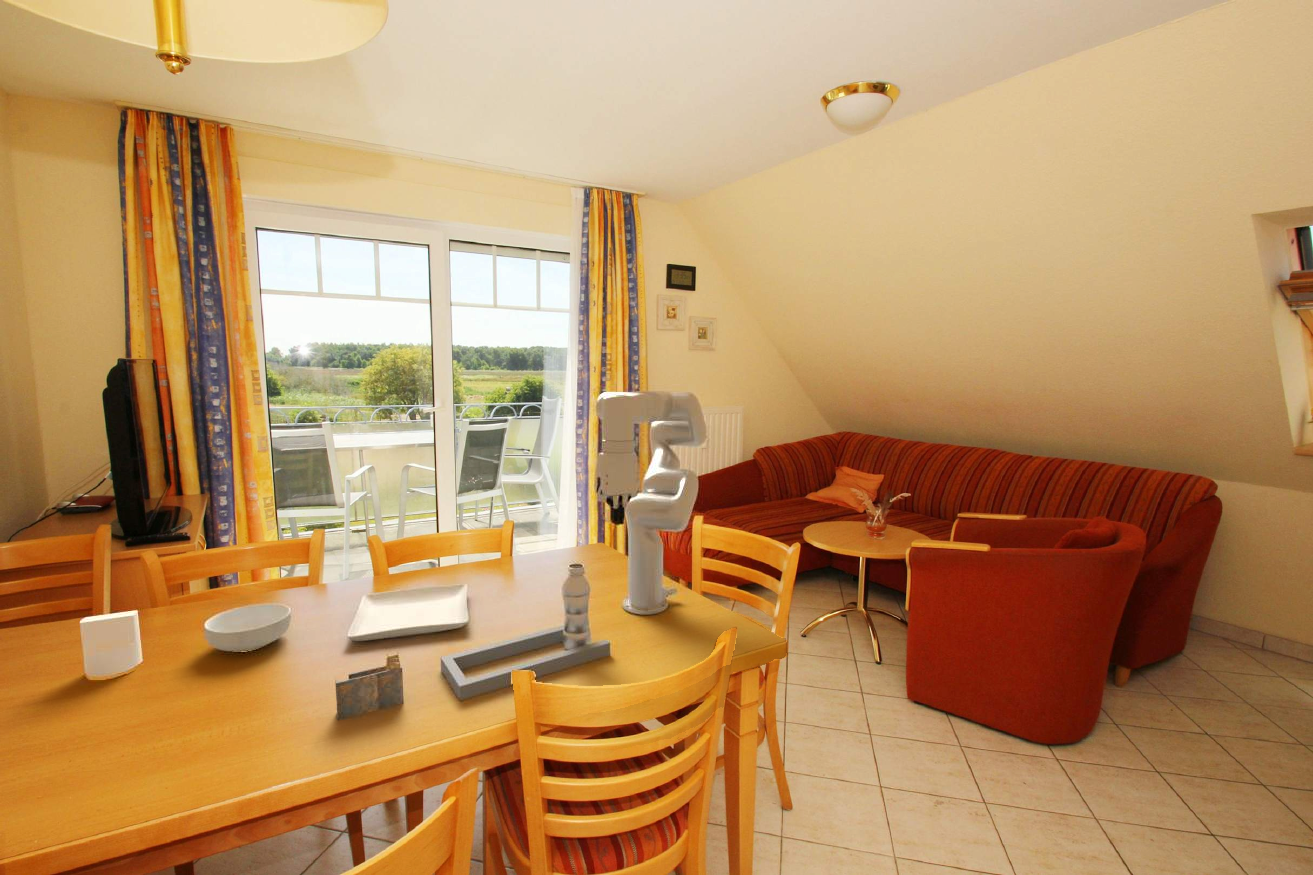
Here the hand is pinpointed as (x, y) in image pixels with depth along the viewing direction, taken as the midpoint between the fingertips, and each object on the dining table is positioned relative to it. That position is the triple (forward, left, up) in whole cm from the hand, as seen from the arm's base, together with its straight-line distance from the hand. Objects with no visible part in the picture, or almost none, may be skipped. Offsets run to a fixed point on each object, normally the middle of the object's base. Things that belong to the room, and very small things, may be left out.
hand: (617, 523), depth 141 cm
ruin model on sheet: (+55, 0, -29) cm, 62 cm away
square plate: (+39, -38, -29) cm, 62 cm away
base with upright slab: (+98, -45, -29) cm, 112 cm away
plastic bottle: (+11, 0, -29) cm, 31 cm away
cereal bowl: (+74, -43, -29) cm, 90 cm away
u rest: (+22, 0, -29) cm, 36 cm away
